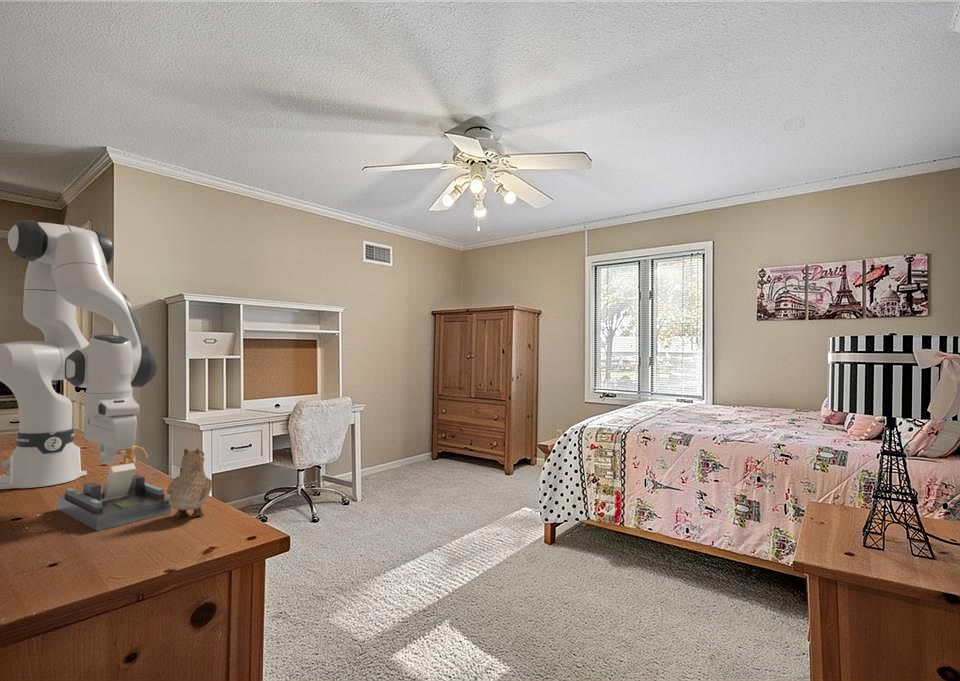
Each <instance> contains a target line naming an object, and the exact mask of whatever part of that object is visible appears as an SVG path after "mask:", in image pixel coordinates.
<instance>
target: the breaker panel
mask: <svg viewBox="0 0 960 681" xmlns="http://www.w3.org/2000/svg"><path fill="white" fill-rule="evenodd" d="M145 483H146V482H145V476H143V475H140V474H136V473H135V475H134V476H133V479H132V482H131V484H130V487H129V490H128V494H125V495H120V496H116V497H111V498H106V499H101V493H102V491H103V488H104V487H102V484H98V483H96V482H87V483H83V488H82V489H83V490H82V491H80V492H81V493H83V494H85V495H87V496H90V497H92V498H94V499H96V500H98V501H100V502H102V507H103V512H102V513H95V512H93V511H91V510H89V509H87V508H85V507H83V506H81V505H79V504H77V503H75V502H73V501H71V500H69V499H67V498H65V494H64V495H61V496H58V499H57V500H58V502H57V503H58V504H57V510H58V511H60V512H62V513H63V514H65V515H66V516H69V517H71V518H72V519H74V520H76V521H78V522H79V523H82V524H83V525H85V526H86V527H89V528H90V529H92V530H94V531H97V532H98V531H103V530H107V529H111V528H114V527H115V528H116V527H120V526H123V525H127V524H131V523H134V522H135V523H136V522H138V521H143V520H147V519H150V518H155V517H158V516H162V515H163V516H164V515H166V514H171V513H172V507H171V506H170V505H169V499H170V497H169V498H168V497H167V496H164V499H157V498H155V497H152V496H149V495H147V494H144V488H145Z"/></svg>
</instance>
